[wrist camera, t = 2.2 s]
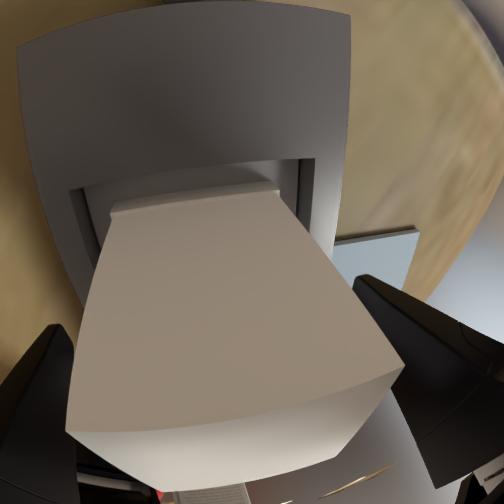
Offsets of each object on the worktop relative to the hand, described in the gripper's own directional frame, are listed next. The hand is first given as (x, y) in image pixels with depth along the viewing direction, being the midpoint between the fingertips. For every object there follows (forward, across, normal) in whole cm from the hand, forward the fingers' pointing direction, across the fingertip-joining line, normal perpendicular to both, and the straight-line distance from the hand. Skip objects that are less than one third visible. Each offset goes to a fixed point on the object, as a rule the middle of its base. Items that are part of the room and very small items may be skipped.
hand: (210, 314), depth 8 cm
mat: (+6, -10, +6) cm, 13 cm away
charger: (+3, 0, 0) cm, 3 cm away
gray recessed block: (+6, 0, +1) cm, 6 cm away
